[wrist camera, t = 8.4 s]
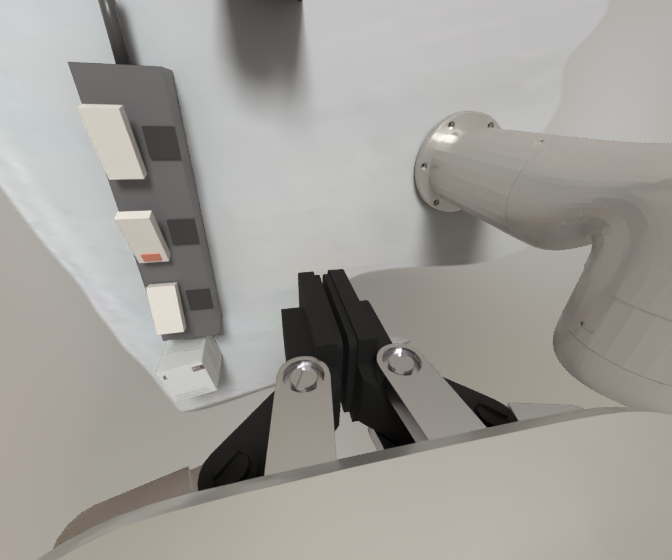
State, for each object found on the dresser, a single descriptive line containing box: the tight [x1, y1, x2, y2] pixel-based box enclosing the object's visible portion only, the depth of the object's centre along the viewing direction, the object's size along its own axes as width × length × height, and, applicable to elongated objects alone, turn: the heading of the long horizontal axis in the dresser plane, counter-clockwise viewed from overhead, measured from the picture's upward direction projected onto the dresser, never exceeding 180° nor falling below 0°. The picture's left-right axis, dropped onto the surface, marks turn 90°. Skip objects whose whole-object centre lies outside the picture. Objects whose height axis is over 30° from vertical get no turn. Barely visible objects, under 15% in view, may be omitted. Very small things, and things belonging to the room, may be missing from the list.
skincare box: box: [155, 335, 222, 402], centre depth 43 cm, size 6×6×7 cm
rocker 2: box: [114, 210, 170, 263], centre depth 31 cm, size 3×6×1 cm, turn 178°
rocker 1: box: [77, 104, 147, 180], centre depth 27 cm, size 3×6×1 cm, turn 178°
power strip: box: [68, 0, 222, 341], centre depth 33 cm, size 7×36×4 cm, turn 178°
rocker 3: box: [146, 282, 186, 335], centre depth 36 cm, size 3×6×1 cm, turn 178°
